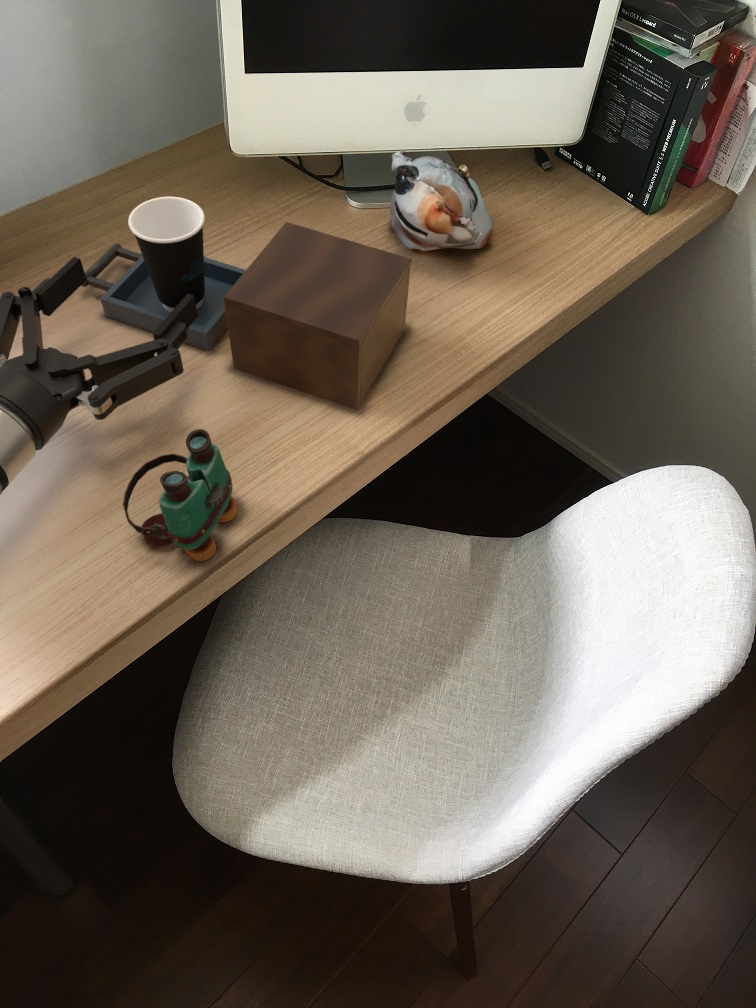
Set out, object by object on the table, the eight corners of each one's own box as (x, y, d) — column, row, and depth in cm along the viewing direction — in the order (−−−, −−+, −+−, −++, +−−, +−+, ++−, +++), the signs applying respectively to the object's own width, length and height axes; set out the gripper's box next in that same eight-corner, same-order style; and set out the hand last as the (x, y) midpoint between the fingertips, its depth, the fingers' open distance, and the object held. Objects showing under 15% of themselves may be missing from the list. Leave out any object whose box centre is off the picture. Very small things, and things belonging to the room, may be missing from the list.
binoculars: (132, 402, 70) (233, 425, 67) (164, 478, 78) (255, 501, 75) (77, 476, 64) (185, 504, 62) (117, 549, 73) (213, 576, 70)
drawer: (71, 304, 91) (65, 286, 89) (127, 248, 97) (122, 231, 95) (209, 350, 87) (206, 333, 85) (257, 289, 94) (256, 272, 92)
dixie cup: (214, 323, 90) (200, 241, 81) (143, 323, 89) (122, 240, 80) (219, 279, 94) (207, 196, 85) (152, 278, 94) (133, 195, 85)
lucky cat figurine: (512, 238, 102) (521, 180, 88) (440, 296, 102) (438, 247, 88) (439, 158, 104) (437, 90, 91) (369, 215, 104) (356, 155, 90)
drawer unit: (233, 368, 86) (223, 297, 78) (290, 293, 94) (286, 221, 86) (357, 410, 83) (359, 340, 75) (404, 329, 91) (411, 258, 83)
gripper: (-91, 409, 75) (46, 282, 87) (131, 497, 70) (245, 349, 82) (-129, 351, 69) (24, 222, 81) (112, 442, 64) (238, 291, 76)
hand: (136, 286), depth 82 cm, fingers open, 13 cm apart
